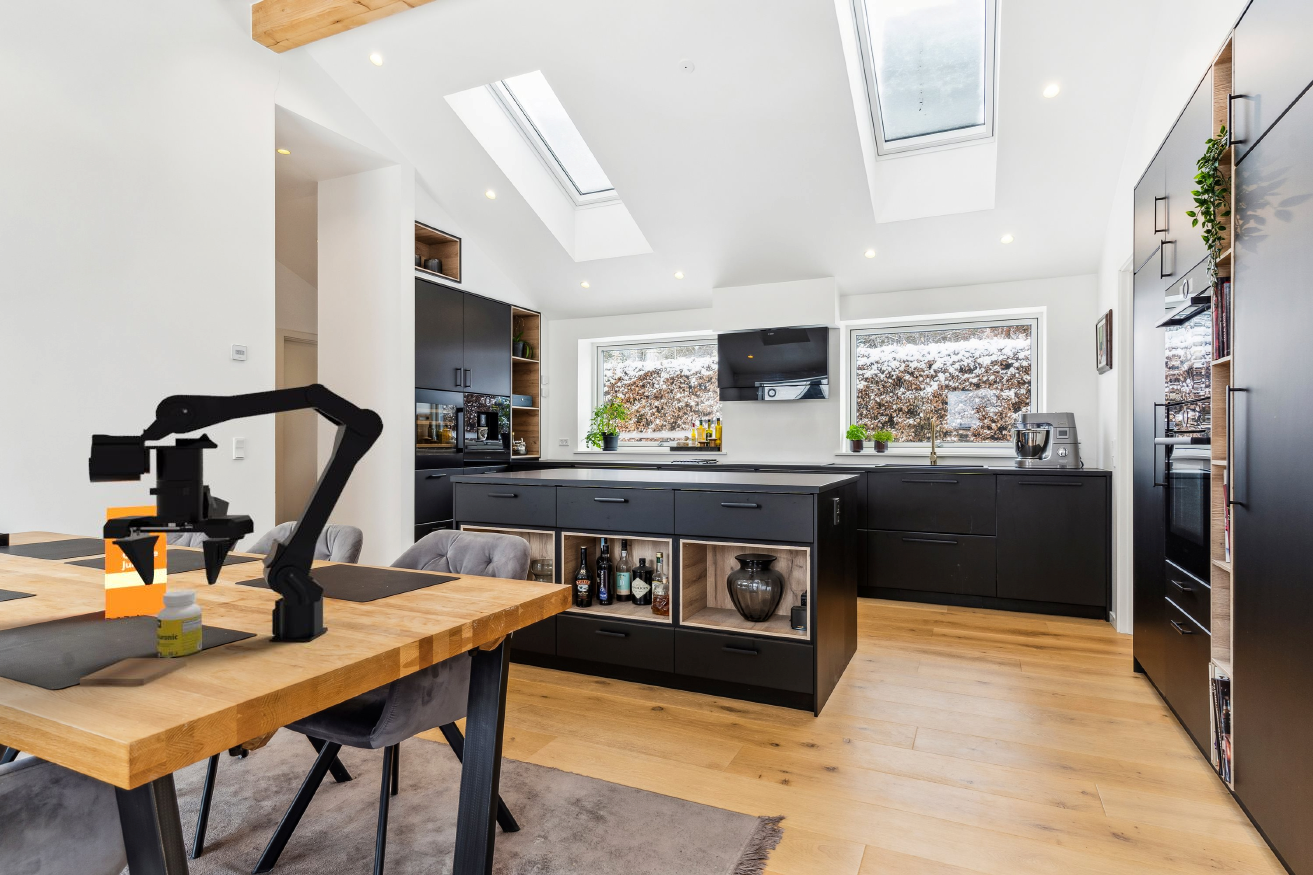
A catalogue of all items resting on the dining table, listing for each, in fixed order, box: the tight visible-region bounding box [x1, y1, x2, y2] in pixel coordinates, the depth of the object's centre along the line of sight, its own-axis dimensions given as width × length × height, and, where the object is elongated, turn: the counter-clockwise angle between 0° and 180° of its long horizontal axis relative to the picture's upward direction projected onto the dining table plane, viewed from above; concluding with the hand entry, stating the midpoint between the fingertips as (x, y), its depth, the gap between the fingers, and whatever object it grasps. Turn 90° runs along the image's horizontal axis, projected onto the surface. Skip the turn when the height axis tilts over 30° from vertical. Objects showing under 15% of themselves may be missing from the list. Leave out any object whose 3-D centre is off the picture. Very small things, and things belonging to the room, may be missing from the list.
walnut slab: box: [79, 657, 187, 687], centre depth 89 cm, size 8×8×2 cm
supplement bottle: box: [156, 589, 203, 658], centre depth 99 cm, size 5×5×10 cm
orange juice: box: [104, 505, 168, 620], centre depth 124 cm, size 8×9×20 cm
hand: (180, 584), depth 99 cm, fingers open, 9 cm apart
